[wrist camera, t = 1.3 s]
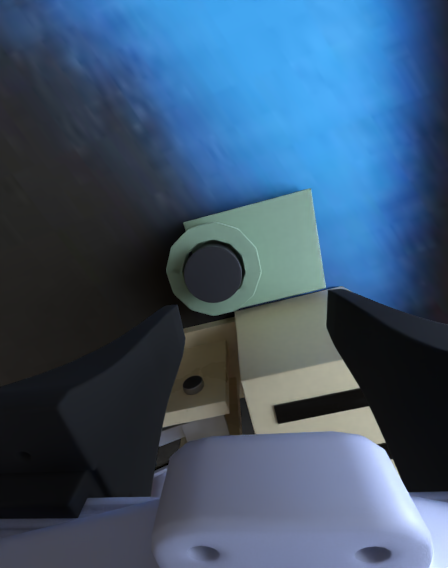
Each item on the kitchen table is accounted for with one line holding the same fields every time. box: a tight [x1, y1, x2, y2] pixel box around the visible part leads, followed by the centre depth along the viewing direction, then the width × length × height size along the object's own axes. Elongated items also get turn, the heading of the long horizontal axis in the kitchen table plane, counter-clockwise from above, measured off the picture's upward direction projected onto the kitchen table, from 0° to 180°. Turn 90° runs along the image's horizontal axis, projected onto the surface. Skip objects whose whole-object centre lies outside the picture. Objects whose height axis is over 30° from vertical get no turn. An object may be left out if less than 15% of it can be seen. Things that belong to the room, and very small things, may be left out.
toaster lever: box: [159, 415, 230, 447], centre depth 16 cm, size 11×5×2 cm, turn 104°
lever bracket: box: [163, 317, 245, 449], centre depth 19 cm, size 7×8×9 cm
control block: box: [166, 188, 326, 316], centre depth 19 cm, size 12×8×4 cm, turn 104°
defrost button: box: [184, 244, 242, 303], centre depth 17 cm, size 4×4×2 cm
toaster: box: [234, 286, 401, 479], centre depth 18 cm, size 10×9×10 cm
